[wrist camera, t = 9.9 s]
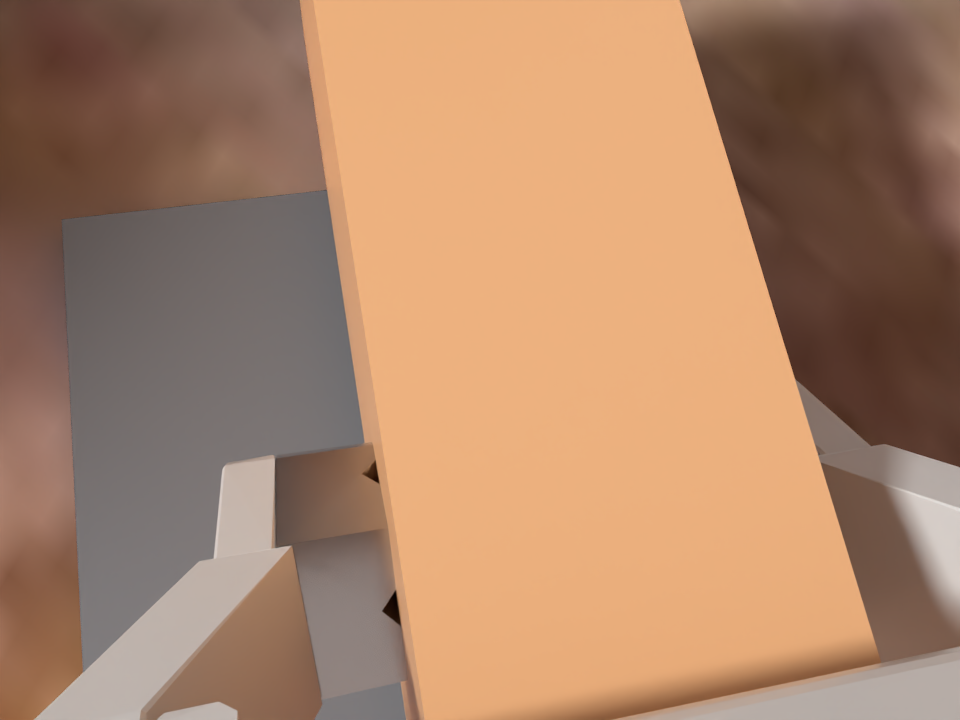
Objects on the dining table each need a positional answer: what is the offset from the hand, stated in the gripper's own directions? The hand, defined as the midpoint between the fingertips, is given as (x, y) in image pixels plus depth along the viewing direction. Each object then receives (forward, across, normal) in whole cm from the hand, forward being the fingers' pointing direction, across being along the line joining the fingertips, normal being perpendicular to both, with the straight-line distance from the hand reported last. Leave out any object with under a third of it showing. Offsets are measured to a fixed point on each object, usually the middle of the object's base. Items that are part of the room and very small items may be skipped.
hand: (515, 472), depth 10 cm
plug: (+5, 0, +1) cm, 5 cm away
